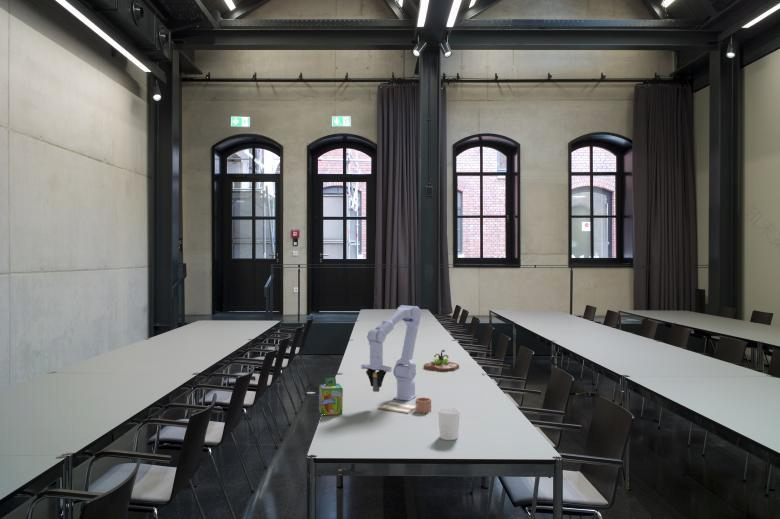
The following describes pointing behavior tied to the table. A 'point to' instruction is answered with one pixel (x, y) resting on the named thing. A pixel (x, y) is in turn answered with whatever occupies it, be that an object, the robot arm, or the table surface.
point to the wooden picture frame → (398, 407)
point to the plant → (441, 364)
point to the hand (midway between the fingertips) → (376, 386)
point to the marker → (375, 383)
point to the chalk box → (330, 398)
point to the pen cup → (423, 405)
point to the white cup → (449, 423)
